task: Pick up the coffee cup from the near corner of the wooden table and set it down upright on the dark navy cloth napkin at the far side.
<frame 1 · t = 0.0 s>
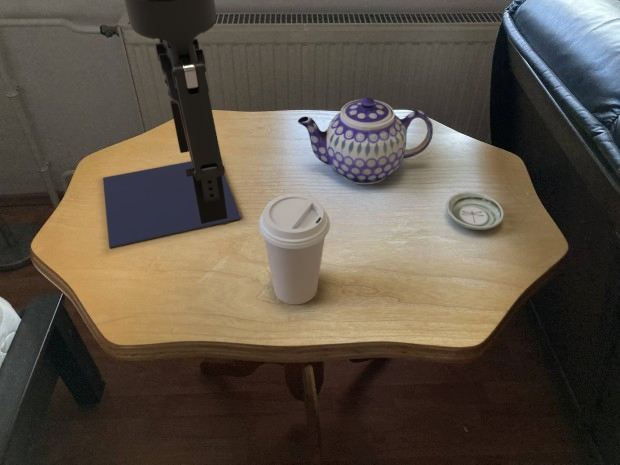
hand: (201, 181, 58), 24 cm above the table, tool pointing down, fingers open, 13 cm apart
teapot: (362, 169, 100), on the table
saucer: (471, 220, 89), on the table
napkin: (169, 198, 93), on the table
coffee cup: (295, 288, 77), on the table
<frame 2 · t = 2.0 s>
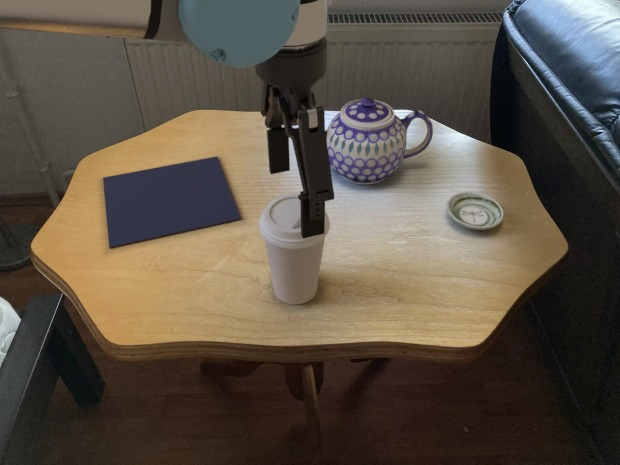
hand: (295, 200, 66), 17 cm above the table, tool pointing down, fingers open, 13 cm apart
nothing on the table moved.
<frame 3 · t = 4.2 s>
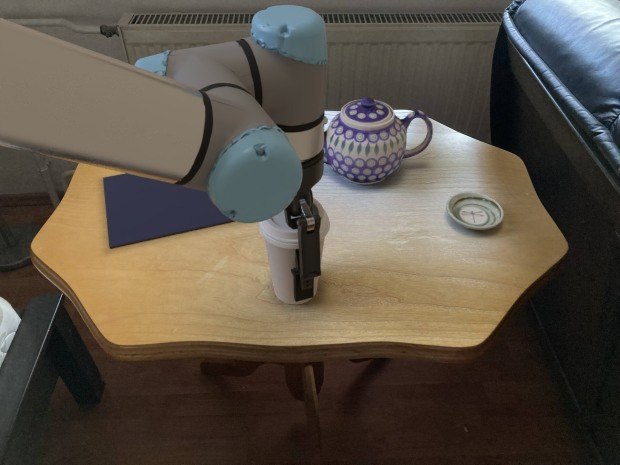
hand: (295, 278, 76), 2 cm above the table, tool pointing down, fingers closed on coffee cup, 7 cm apart
coffee cup: (295, 288, 77), on the table, touching gripper
everything else where it was.
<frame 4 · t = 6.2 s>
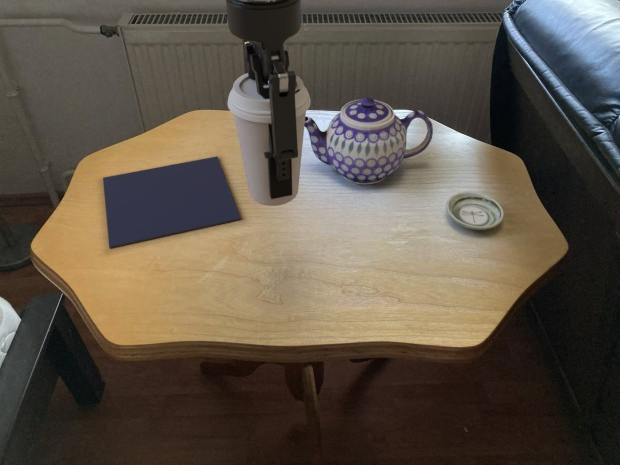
hand: (272, 177, 66), 19 cm above the table, tool pointing down, fingers closed on coffee cup, 7 cm apart
coffee cup: (273, 191, 68), point 17 cm above the table, touching gripper
everything else where it was.
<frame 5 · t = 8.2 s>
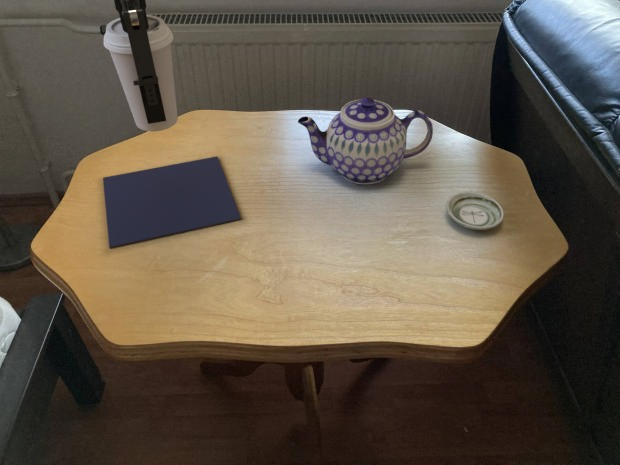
hand: (153, 108, 80), 19 cm above the table, tool pointing down, fingers closed on coffee cup, 7 cm apart
coffee cup: (157, 121, 81), point 16 cm above the table, touching gripper
everything else where it was.
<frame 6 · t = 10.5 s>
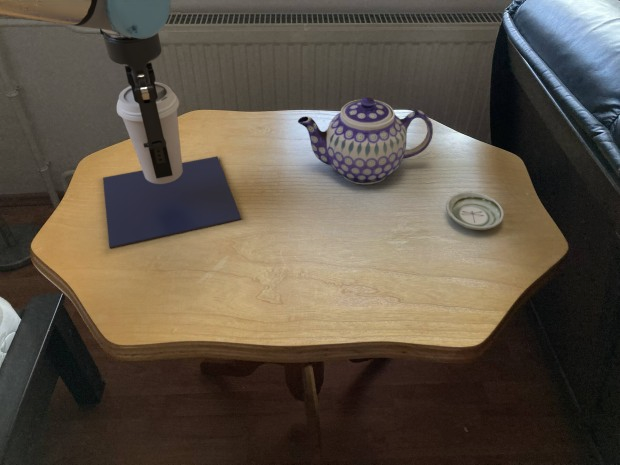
hand: (161, 162, 88), 8 cm above the table, tool pointing down, fingers closed on coffee cup, 7 cm apart
coffee cup: (164, 173, 89), point 6 cm above the table, touching gripper
everything else where it was.
when the fingers open (2 cm above the table, at t = 12.2 s): coffee cup stays where it is, resting on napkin.
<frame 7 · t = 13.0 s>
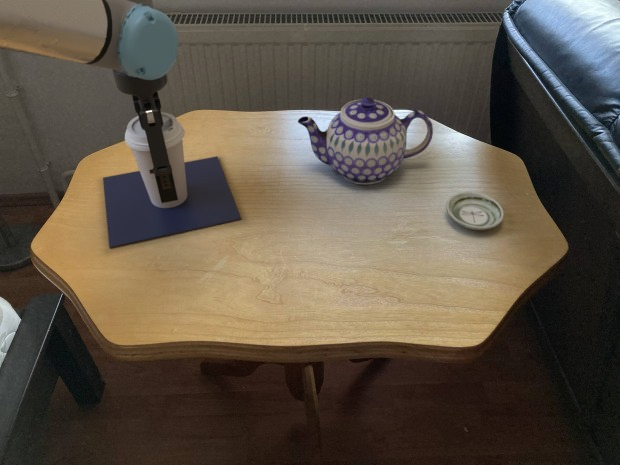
hand: (164, 177, 90), 5 cm above the table, tool pointing down, fingers open, 13 cm apart
coffee cup: (169, 197, 93), resting on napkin
everything else where it was.
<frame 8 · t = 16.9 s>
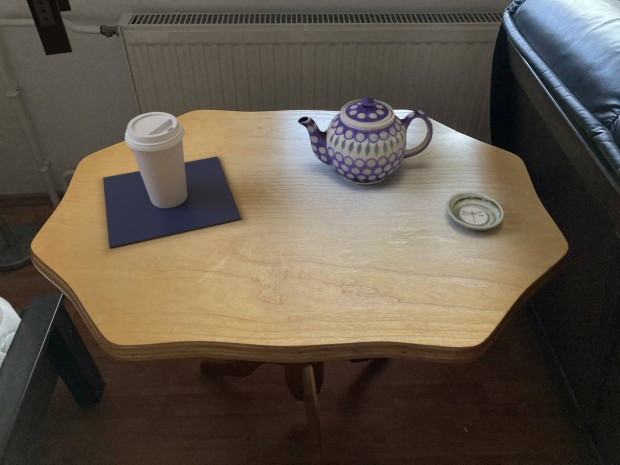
hand: (59, 30, 61), 35 cm above the table, tool pointing down, fingers open, 13 cm apart
nothing on the table moved.
at the end: coffee cup inside the target area on the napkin (0.1 cm from its centre), point 0.2 cm above the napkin's base; coffee cup tilted 0°; the gripper is holding nothing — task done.
